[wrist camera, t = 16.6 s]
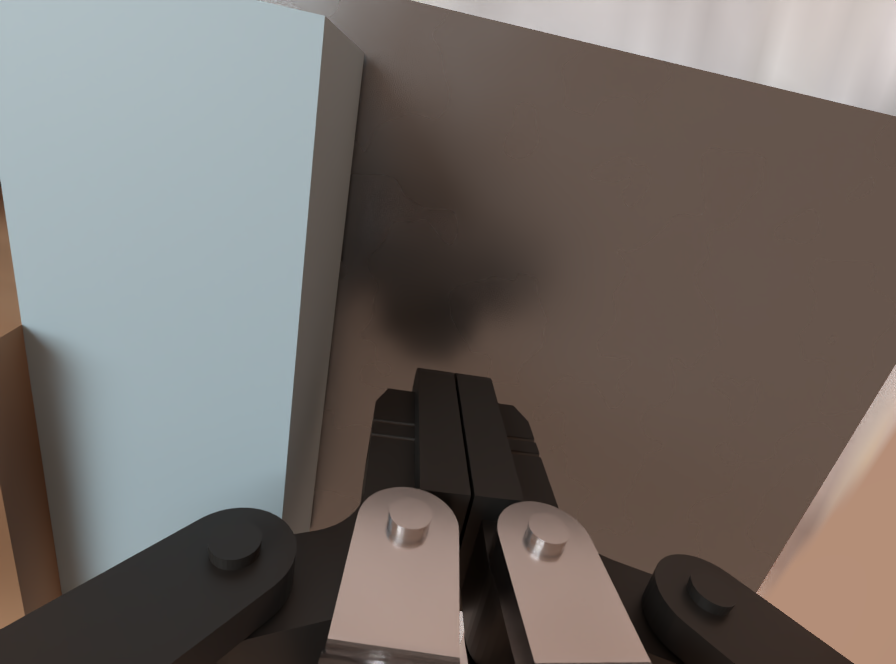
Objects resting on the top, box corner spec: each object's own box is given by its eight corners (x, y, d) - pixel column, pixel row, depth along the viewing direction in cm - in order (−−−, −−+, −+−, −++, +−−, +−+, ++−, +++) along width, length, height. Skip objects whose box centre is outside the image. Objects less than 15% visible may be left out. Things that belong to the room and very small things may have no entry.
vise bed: (719, 548, 19) (880, 783, 12) (-102, 471, 15) (-480, 752, 9) (941, 140, 13) (1444, 185, 7) (-281, -148, 9) (-1743, -657, 3)
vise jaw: (308, 544, 14) (261, 757, 10) (191, 534, 14) (85, 753, 9) (364, 52, 9) (324, 14, 5) (189, 14, 9) (-37, -68, 4)
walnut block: (195, 422, 13) (35, 672, 7) (14, 401, 12) (-310, 655, 7) (195, 219, 11) (-26, 353, 5) (-22, 182, 10) (-525, 289, 5)
